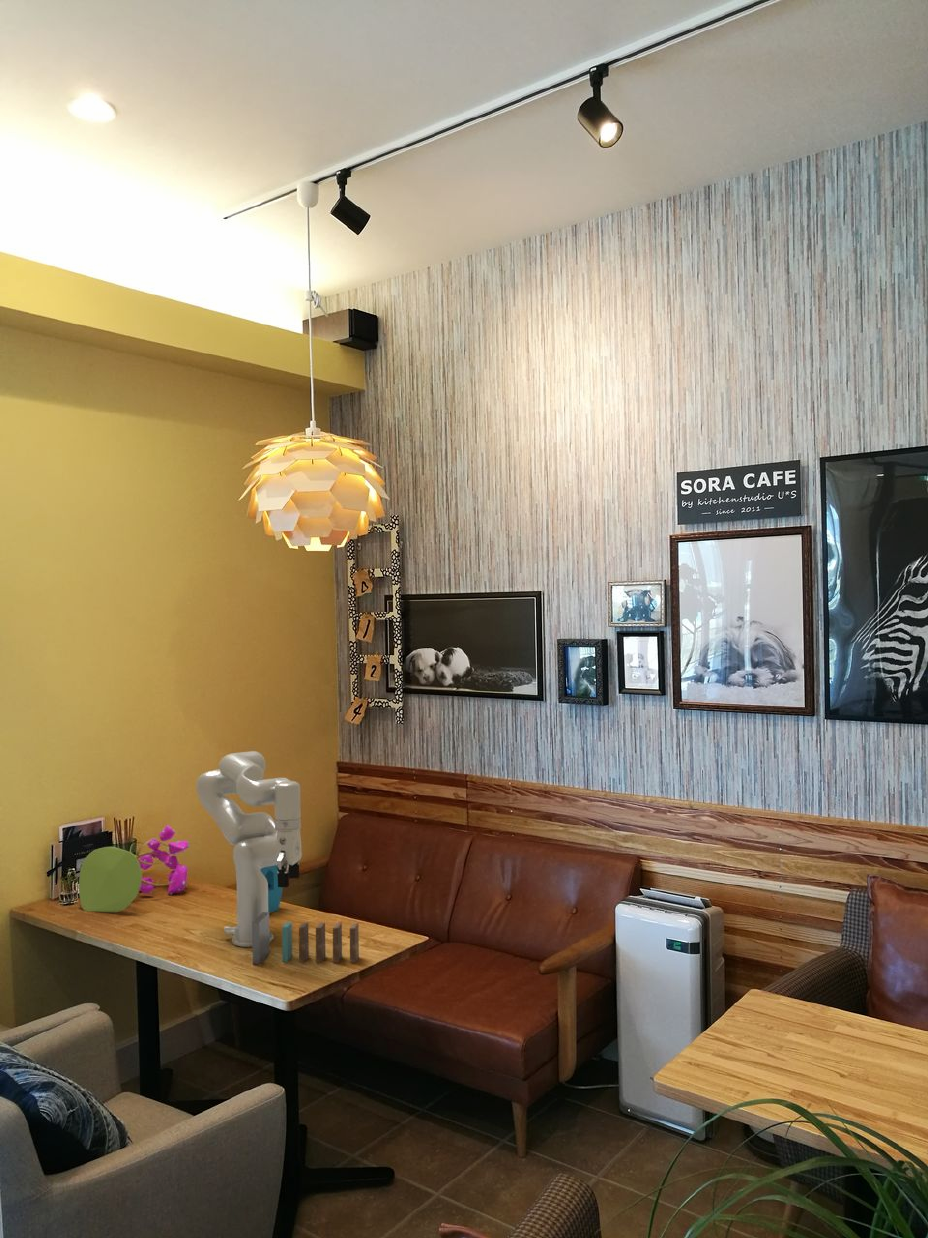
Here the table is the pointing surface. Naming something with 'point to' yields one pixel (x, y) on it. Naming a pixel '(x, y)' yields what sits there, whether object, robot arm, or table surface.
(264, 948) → the bookend
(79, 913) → the table surface
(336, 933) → the walnut tile
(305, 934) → the walnut tile
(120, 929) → the table surface
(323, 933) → the walnut tile
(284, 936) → the teal tile
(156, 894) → the table surface
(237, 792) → the robot arm
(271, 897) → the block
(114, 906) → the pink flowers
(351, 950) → the walnut tile
